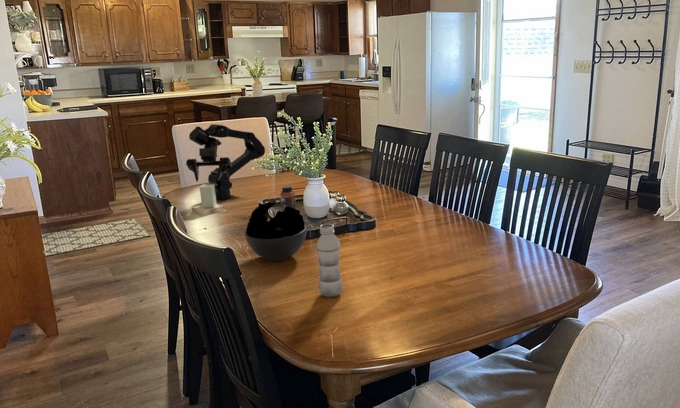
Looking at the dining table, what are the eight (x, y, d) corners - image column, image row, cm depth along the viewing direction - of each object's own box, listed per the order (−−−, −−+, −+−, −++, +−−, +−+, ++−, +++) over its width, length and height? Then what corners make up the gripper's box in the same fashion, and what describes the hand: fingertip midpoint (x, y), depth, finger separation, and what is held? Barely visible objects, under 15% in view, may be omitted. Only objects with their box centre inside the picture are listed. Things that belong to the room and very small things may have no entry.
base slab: (215, 210, 252) (214, 205, 251) (226, 214, 243) (226, 210, 243) (191, 215, 245) (191, 211, 245) (203, 220, 237) (202, 216, 236)
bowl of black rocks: (241, 254, 193) (235, 201, 188) (297, 243, 200) (292, 192, 195) (257, 274, 175) (251, 216, 170) (317, 261, 182) (313, 205, 177)
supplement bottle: (297, 210, 241) (295, 184, 238) (295, 214, 235) (292, 188, 232) (283, 210, 241) (281, 184, 238) (280, 214, 236) (278, 188, 233)
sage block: (205, 204, 246) (202, 184, 244) (216, 204, 246) (214, 183, 244) (202, 207, 241) (199, 187, 239) (213, 207, 241) (211, 186, 239)
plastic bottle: (318, 291, 161) (313, 223, 155) (342, 288, 161) (338, 221, 156) (319, 300, 154) (314, 230, 149) (344, 298, 155) (340, 228, 149)
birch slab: (212, 206, 250) (212, 202, 250) (224, 210, 243) (224, 205, 243) (192, 211, 244) (191, 207, 243) (204, 215, 237) (203, 211, 236)
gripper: (184, 141, 245) (180, 172, 238) (226, 138, 245) (224, 170, 238) (191, 154, 255) (188, 185, 248) (232, 152, 254) (230, 183, 247)
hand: (207, 180), depth 245 cm, fingers open, 9 cm apart
